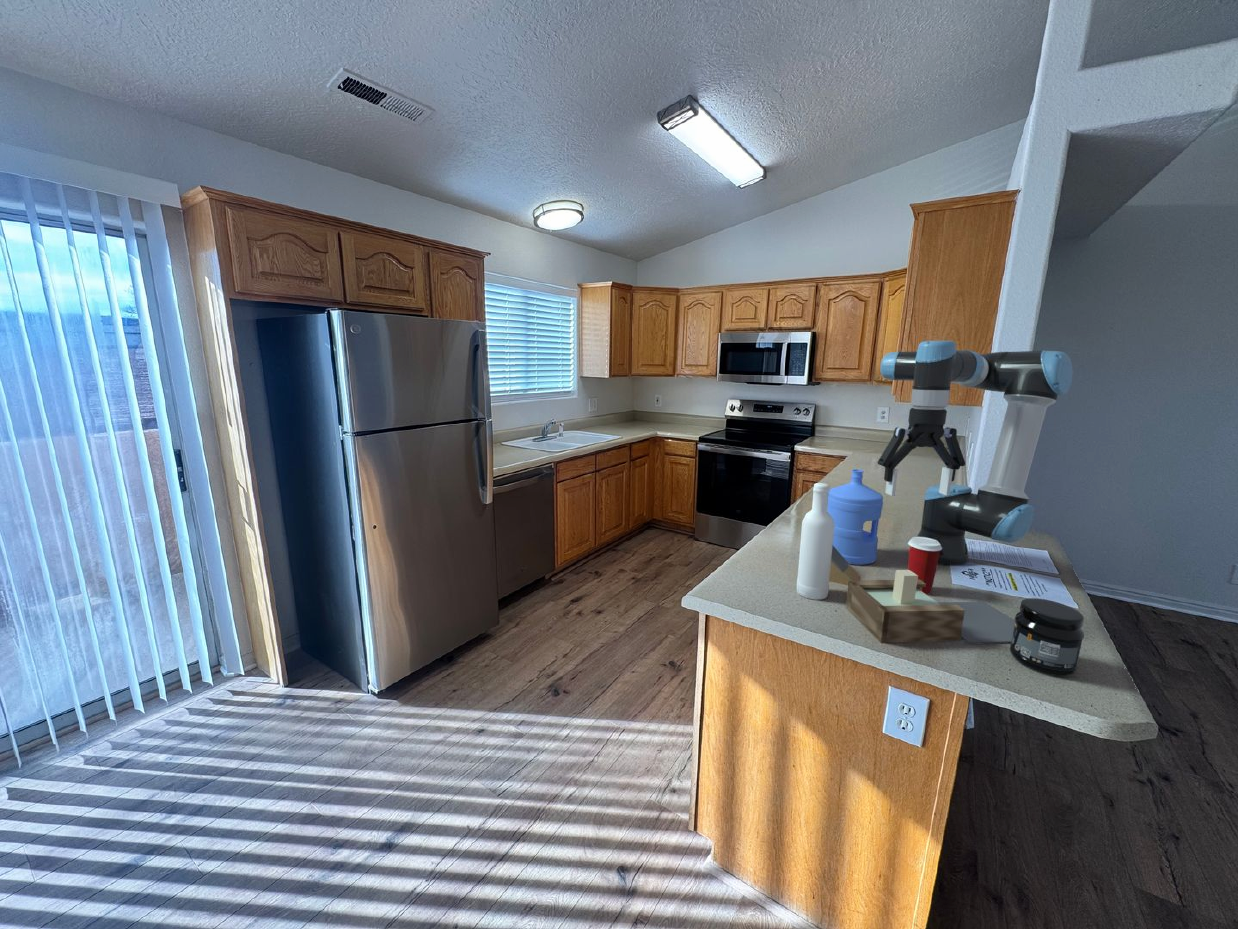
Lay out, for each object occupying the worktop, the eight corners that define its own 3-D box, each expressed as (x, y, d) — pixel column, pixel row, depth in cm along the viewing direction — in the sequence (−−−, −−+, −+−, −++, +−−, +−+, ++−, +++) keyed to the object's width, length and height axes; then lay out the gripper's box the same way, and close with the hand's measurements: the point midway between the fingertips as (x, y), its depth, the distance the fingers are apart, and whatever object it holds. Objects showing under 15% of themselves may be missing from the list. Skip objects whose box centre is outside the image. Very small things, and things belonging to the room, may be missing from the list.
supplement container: (1043, 647, 105) (1053, 596, 103) (1091, 678, 95) (1103, 622, 92) (995, 648, 105) (1005, 596, 102) (1038, 679, 95) (1050, 622, 92)
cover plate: (915, 590, 120) (920, 561, 119) (953, 617, 108) (958, 584, 106) (856, 591, 120) (860, 562, 118) (887, 618, 107) (891, 585, 105)
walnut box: (915, 606, 123) (919, 579, 121) (959, 640, 108) (964, 610, 106) (845, 608, 122) (848, 580, 120) (880, 642, 107) (884, 611, 105)
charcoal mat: (984, 603, 125) (984, 601, 125) (1047, 642, 107) (1047, 640, 107) (915, 604, 124) (916, 602, 124) (968, 644, 106) (968, 642, 106)
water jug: (822, 561, 151) (830, 473, 145) (822, 544, 165) (829, 463, 160) (878, 569, 145) (889, 478, 140) (873, 551, 159) (883, 467, 154)
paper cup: (931, 585, 134) (938, 537, 132) (939, 598, 127) (946, 547, 124) (899, 581, 137) (905, 534, 134) (905, 593, 130) (911, 544, 127)
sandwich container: (858, 588, 133) (863, 536, 130) (799, 575, 141) (804, 526, 138) (861, 577, 140) (867, 527, 137) (806, 565, 148) (810, 518, 145)
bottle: (834, 595, 128) (845, 485, 122) (815, 603, 124) (826, 489, 118) (808, 584, 135) (817, 479, 129) (789, 591, 131) (798, 483, 125)
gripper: (968, 406, 119) (955, 490, 124) (868, 406, 118) (859, 490, 123) (992, 409, 112) (978, 498, 116) (885, 409, 111) (875, 498, 115)
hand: (917, 494), depth 119 cm, fingers open, 13 cm apart
